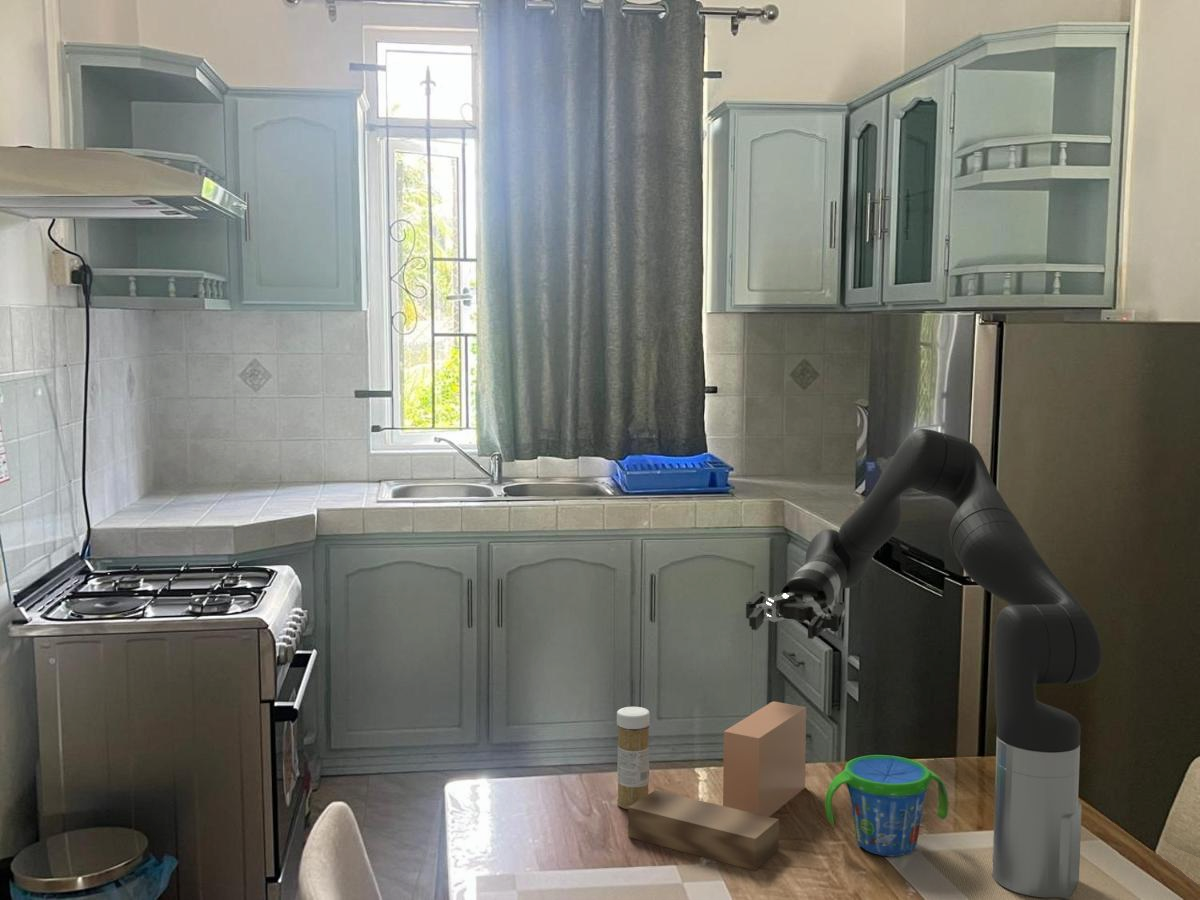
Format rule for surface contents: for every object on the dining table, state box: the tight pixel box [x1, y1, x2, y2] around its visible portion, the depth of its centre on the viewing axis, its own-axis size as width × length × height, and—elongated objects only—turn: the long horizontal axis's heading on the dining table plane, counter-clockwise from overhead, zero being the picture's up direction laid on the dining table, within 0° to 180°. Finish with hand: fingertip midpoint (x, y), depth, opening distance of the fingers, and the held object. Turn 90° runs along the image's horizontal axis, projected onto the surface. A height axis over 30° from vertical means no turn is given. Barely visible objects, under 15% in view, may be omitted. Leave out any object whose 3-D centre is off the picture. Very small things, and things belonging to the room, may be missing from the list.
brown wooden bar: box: [627, 789, 780, 872], centre depth 146 cm, size 18×7×4 cm, turn 57°
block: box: [722, 701, 807, 817], centre depth 160 cm, size 5×16×12 cm, turn 147°
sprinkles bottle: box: [616, 706, 651, 810], centre depth 159 cm, size 5×5×13 cm
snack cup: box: [824, 754, 950, 857], centre depth 145 cm, size 16×10×10 cm
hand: (781, 628), depth 167 cm, fingers open, 8 cm apart
